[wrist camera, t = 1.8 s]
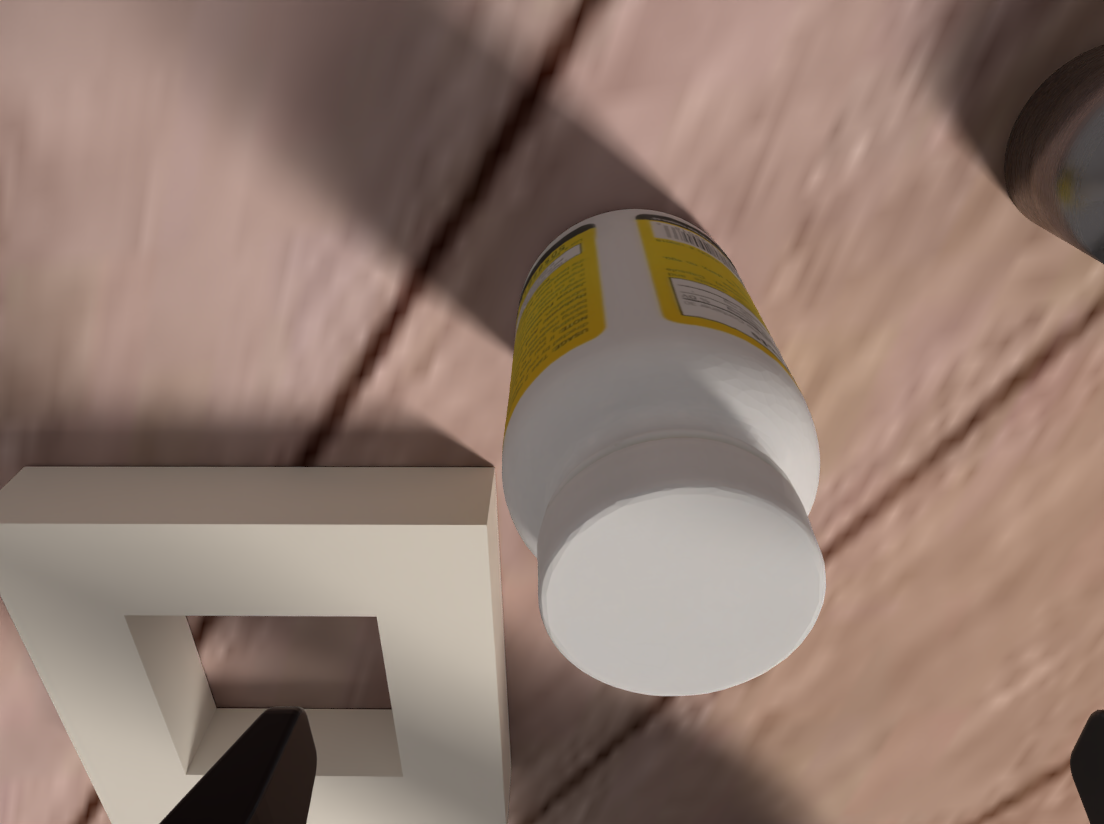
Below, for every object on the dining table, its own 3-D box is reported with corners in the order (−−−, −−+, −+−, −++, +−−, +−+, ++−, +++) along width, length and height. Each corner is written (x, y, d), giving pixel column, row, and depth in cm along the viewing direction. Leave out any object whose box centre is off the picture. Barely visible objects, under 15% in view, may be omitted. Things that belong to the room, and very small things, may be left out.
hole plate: (494, 467, 22) (486, 525, 19) (511, 768, 28) (506, 836, 26) (24, 466, 22) (-35, 523, 20) (149, 765, 28) (116, 832, 26)
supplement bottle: (536, 421, 21) (516, 743, 12) (501, 220, 18) (443, 458, 10) (744, 397, 20) (869, 715, 12) (739, 187, 18) (896, 408, 9)
